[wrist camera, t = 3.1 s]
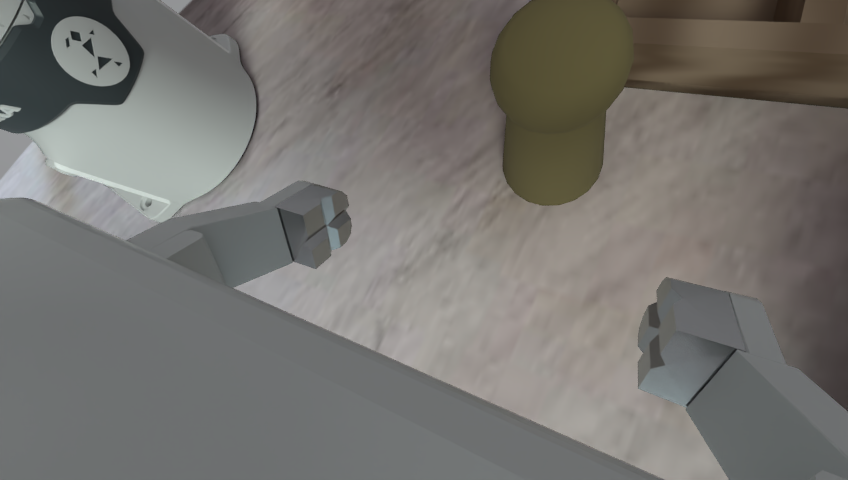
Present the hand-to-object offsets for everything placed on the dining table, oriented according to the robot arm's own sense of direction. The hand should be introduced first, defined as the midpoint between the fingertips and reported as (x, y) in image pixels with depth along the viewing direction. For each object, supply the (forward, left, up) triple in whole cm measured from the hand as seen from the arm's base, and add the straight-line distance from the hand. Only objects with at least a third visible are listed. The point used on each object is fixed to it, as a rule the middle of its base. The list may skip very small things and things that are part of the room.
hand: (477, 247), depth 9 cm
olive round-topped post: (0, +8, -14) cm, 16 cm away
